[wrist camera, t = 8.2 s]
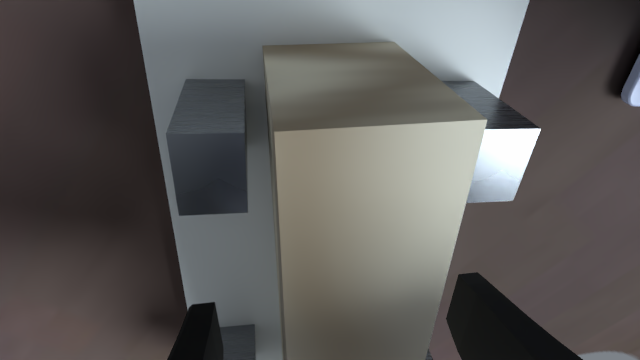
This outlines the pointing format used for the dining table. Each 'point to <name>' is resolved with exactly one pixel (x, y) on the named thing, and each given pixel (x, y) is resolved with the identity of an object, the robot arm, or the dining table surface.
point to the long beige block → (363, 196)
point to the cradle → (252, 130)
